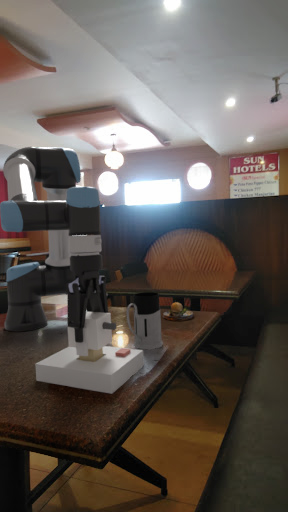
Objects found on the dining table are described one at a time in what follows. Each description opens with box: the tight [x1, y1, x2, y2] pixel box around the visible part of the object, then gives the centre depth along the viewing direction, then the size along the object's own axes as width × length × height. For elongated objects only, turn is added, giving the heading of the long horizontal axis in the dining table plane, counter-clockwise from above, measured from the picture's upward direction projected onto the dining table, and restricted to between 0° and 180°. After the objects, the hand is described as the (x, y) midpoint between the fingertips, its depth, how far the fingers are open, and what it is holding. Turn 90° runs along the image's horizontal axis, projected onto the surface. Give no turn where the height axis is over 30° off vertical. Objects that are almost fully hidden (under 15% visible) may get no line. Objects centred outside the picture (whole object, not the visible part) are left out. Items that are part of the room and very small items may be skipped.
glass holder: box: [125, 291, 164, 350], centre depth 102 cm, size 9×14×15 cm, turn 147°
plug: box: [66, 311, 117, 362], centre depth 83 cm, size 11×6×11 cm, turn 66°
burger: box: [162, 300, 194, 322], centre depth 136 cm, size 12×12×8 cm
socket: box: [34, 345, 145, 395], centre depth 84 cm, size 20×16×5 cm
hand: (90, 350), depth 84 cm, fingers closed on plug, 6 cm apart
